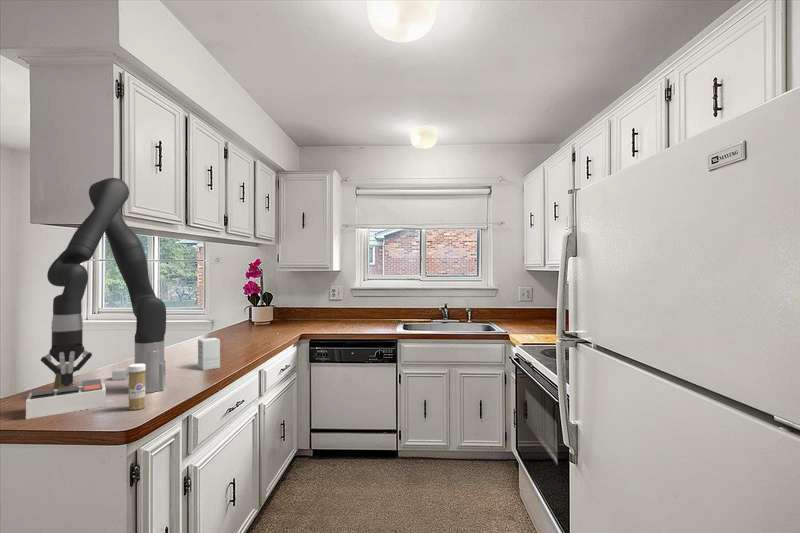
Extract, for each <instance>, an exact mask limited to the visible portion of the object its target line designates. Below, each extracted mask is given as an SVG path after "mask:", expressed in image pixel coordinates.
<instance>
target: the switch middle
mask: <svg viewBox="0 0 800 533" xmlns="http://www.w3.org/2000/svg"><path fill="white" fill-rule="evenodd" d="M78 387H79V386H78V385H77V384H76V385H73V386H68V387H60V388H58V393H63V392H70V391H78Z"/></svg>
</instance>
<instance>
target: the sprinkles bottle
mask: <svg viewBox="0 0 800 533" xmlns="http://www.w3.org/2000/svg"><path fill="white" fill-rule="evenodd" d="M127 368H128V372H129V377H128V410H130V411H137V410H142V409H144V408H145V407H146V393H145V370H146V365H145V364H135V363H134V364H129V365H128V367H127Z"/></svg>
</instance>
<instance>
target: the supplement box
mask: <svg viewBox="0 0 800 533" xmlns="http://www.w3.org/2000/svg"><path fill="white" fill-rule="evenodd" d="M197 367H198V369H200V370H202V371H209V370H214V369H221V339H220V338H217V337H208V338H198V339H197Z"/></svg>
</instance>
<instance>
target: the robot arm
mask: <svg viewBox="0 0 800 533" xmlns="http://www.w3.org/2000/svg"><path fill="white" fill-rule="evenodd" d="M129 196H130V189H129V186H128V184H127V183H126V182H125V181H124V180H122V179H120V178H117V177H108V178H104V179H101V180H98V181H96V182H94V183H92V184H91V185H90V187H89V189H88V197H89V200H90V202H91V204H92V207H93V210H92V211H91V212H90V213H89V215H88V216H87V217H85V220H84V221H83V222H82V223H81V224H80V225H79V226H78V227H77V229H75V232H74V234H73V235H72V237H71V239H70V241H69V243H68V245H67V246H66V248H65V250H63V252H62V253H60V254H59V255H58V256H57V258H55V259H54V261H53V262H52V263H51V265H49V267H48V270H47V275H46V277H47V280H48V283H50V284H51V285H52V286H54V287H63V291H62V293H61V294H58V295H56V296H55V297H53V301H52V318H51V319H52V321H51V329H50V330H51V348H50V350H49V352H48V353H47V354H46V355H44V356H42V357H41V359H40V362H42V363H43V364H44V365H45V366H46V367H47V368H48V369H49V370H51V372H53V374H55V373H60V374H61V384H62V385H64V386H70V384H72V382H74V373H75V372H77V371H80V370H81V369H82V368H83V367H84V365H85V364H86V363H87V362H88V361H89V360H90V359H91V358H92V357H93V353H92V352H90V351H87V350H85V347H84V345H83V339H84V338H83V328H84V325H83V321H84V320H83V316H82V315H83V314H82V312H83V311H82V310H83V302H82V301H83V298H84V296H85V292H86V288H87V285H88V281H89V273H88V270H87V268H86V267H85V266H84V265H82V263H85V262H88V261H90V260H91V259H92V258H93V255H94V253H95V251H96V250H97V248H98V246H99V244H100V242H101V240H102V239H103V236H104V234H105V235H106V238H107V240H108V241H107V242H108V244H109V246H110V249H111V250H110V251H111V252H112V255H113V257H114V258H113V259H114V261H115V264H116V266H117V267H118V270H119V273H120V276H121V277H122V280H123V282H124V284H125V285H126V288H127V291H128V295H129V299H130V303H131V309H132V312H133V315H134V316H135V319H136V327H135V334H134V364H145V365H146V370H145V394H146V393H154V392H159V391H163V390H164V389H165V388H166V360H165V335H166V332H167V331H166V330H167V306H166V304H165V303H164V301H163V300H162V299H161V298H158V297H157V296H156V293H155V291H154V289H153V287H152V284H151V281H150V276H149V266H148V259H147V256H146V252H145V250H144V247H143V244H142V241H141V240H140V238H139V237H138V235H137V234H136V233H135V232H134V231H133V230H132V229H131V228H130V227H129V226H128V224H127V223H126V221H125V219H124V218H123V216H122V213H121V210H120V209H122V207H123V206H124V204H125V203H126V202H127V200H128V198H129ZM81 355H82V356H81ZM80 356H81V357H82V359H80V361H79V362H78V363H77V365H76V366H74V365H75V362H76V361H77V360H78V359H79V357H80ZM52 359H54V360H55V361H56V362H57V363H59V364H60V368H58V367H57V366H56V365H57V364H55V363H53V362H52ZM67 363H68V364H69V366H68V373H66V364H67Z"/></svg>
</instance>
